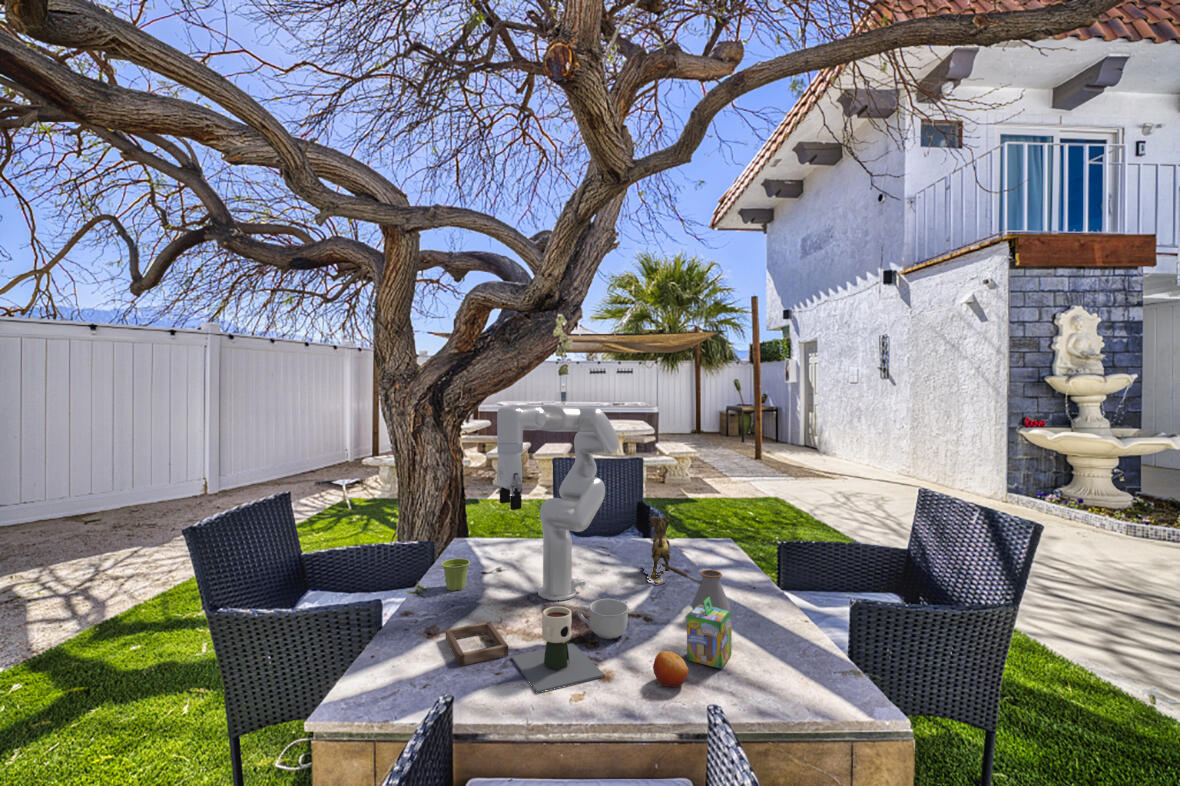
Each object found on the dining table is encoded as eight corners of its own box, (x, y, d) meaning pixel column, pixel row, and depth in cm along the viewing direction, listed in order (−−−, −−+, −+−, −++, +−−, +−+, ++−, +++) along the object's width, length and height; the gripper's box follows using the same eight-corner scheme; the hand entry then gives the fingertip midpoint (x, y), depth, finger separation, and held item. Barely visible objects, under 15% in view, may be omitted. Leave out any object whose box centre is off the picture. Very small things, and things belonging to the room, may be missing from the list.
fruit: (642, 669, 133) (659, 640, 134) (670, 685, 134) (687, 656, 134) (648, 687, 125) (667, 656, 126) (678, 704, 126) (696, 673, 126)
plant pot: (435, 590, 188) (435, 564, 188) (452, 581, 197) (452, 557, 197) (459, 594, 185) (459, 568, 185) (475, 585, 193) (475, 560, 193)
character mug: (560, 678, 130) (561, 622, 130) (533, 672, 133) (533, 618, 133) (578, 657, 140) (579, 606, 140) (553, 652, 143) (553, 601, 143)
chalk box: (721, 670, 136) (721, 609, 136) (685, 660, 141) (686, 601, 141) (733, 655, 144) (733, 597, 144) (699, 646, 149) (699, 590, 148)
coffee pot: (729, 610, 173) (729, 561, 173) (731, 625, 162) (731, 573, 162) (660, 604, 177) (660, 557, 177) (657, 619, 166) (657, 568, 166)
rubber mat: (573, 645, 149) (573, 643, 149) (604, 676, 132) (604, 674, 132) (511, 658, 141) (511, 656, 141) (536, 693, 125) (536, 691, 125)
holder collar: (490, 630, 157) (490, 621, 157) (508, 655, 143) (508, 645, 143) (445, 638, 152) (445, 629, 152) (459, 666, 137) (459, 655, 137)
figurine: (675, 564, 218) (675, 512, 218) (674, 586, 193) (675, 528, 193) (642, 562, 220) (642, 511, 220) (637, 584, 195) (637, 526, 195)
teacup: (632, 629, 159) (632, 601, 159) (621, 646, 148) (622, 615, 148) (586, 622, 163) (586, 595, 163) (572, 638, 153) (572, 608, 153)
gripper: (489, 446, 173) (489, 501, 173) (507, 452, 157) (507, 513, 157) (512, 445, 176) (512, 499, 176) (532, 451, 161) (532, 510, 161)
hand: (510, 506), depth 167 cm, fingers open, 9 cm apart
